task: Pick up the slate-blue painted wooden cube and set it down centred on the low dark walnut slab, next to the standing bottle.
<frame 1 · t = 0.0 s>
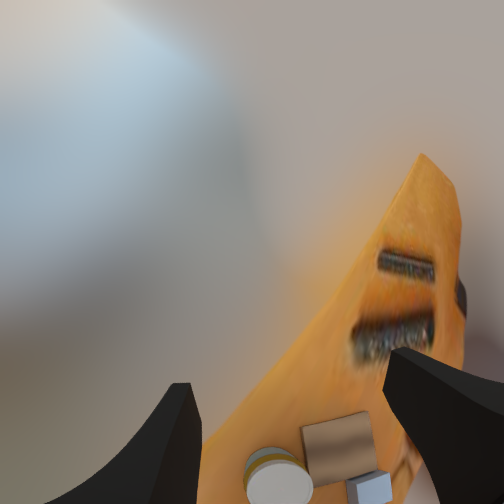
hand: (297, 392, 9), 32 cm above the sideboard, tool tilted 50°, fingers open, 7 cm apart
base slab: (337, 449, 31), on the sideboard
bottle: (270, 467, 30), on the sideboard
cube: (362, 487, 27), on the sideboard
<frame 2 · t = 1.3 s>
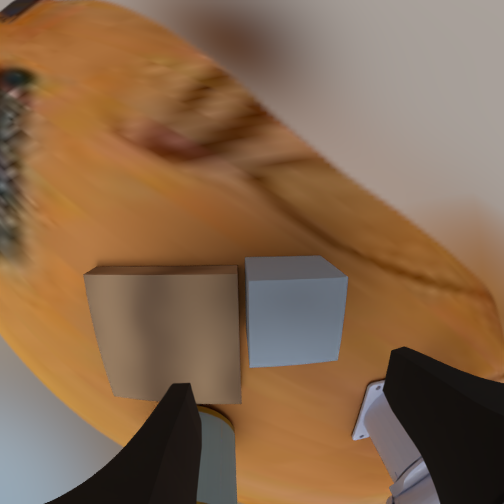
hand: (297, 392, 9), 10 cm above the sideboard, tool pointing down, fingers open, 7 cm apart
base slab: (169, 333, 19), on the sideboard
bottle: (195, 425, 21), on the sideboard
cube: (282, 292, 19), on the sideboard
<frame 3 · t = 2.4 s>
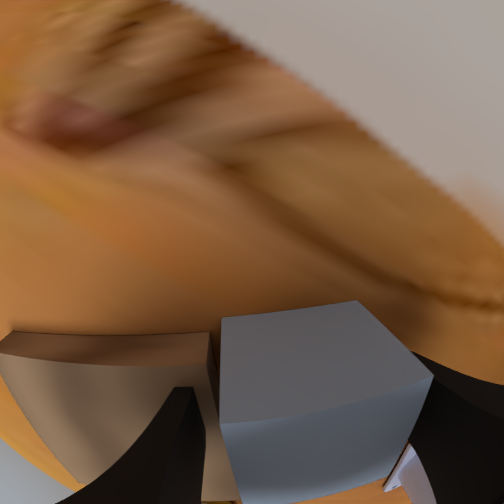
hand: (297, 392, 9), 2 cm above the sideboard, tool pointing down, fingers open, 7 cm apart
base slab: (125, 421, 10), on the sideboard
bottle: (188, 501, 13), on the sideboard
cube: (293, 364, 10), on the sideboard
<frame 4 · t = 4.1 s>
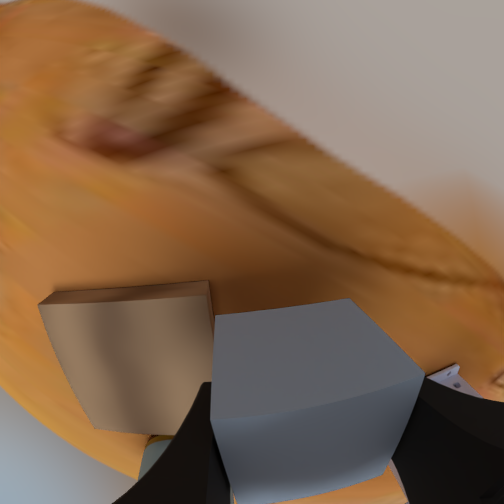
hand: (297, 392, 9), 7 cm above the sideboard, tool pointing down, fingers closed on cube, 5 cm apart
base slab: (141, 361, 15), on the sideboard
bottle: (187, 450, 18), on the sideboard
cube: (287, 362, 10), point 5 cm above the sideboard, touching gripper
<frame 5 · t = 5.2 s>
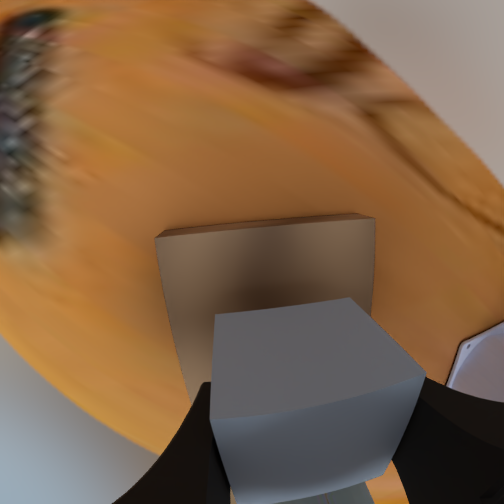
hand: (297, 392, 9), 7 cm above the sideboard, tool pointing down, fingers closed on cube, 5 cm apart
base slab: (270, 312, 15), on the sideboard
bottle: (286, 425, 18), on the sideboard
cube: (287, 362, 10), point 5 cm above the sideboard, touching gripper
when the fingers open (5 cm above the sideboard, at t = 6.4 s): cube drops 1 cm, resting on base slab.
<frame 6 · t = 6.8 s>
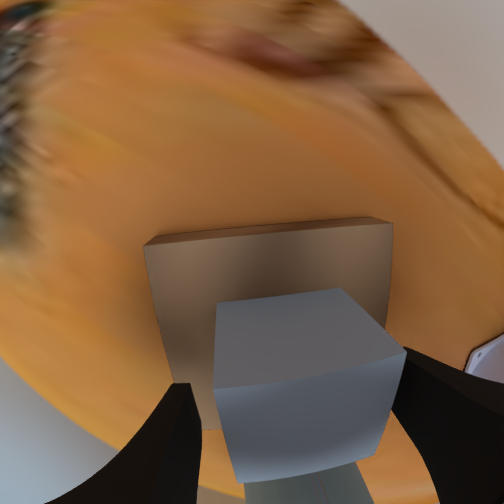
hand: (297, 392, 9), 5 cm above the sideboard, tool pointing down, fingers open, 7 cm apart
base slab: (275, 326, 13), on the sideboard
bottle: (290, 440, 16), on the sideboard
cube: (283, 348, 11), point 2 cm above the sideboard, touching base slab
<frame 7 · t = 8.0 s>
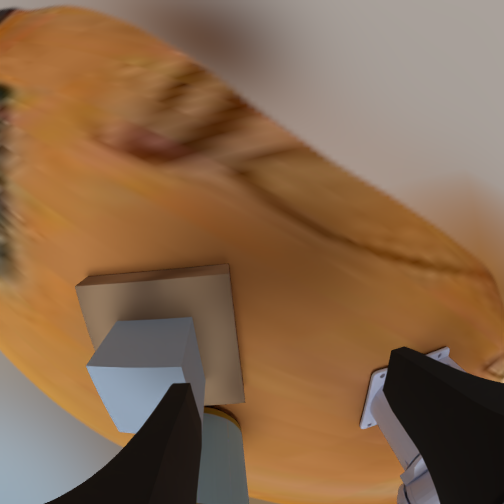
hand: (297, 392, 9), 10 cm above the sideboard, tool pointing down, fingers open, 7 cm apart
base slab: (166, 337, 18), on the sideboard
bottle: (202, 425, 21), on the sideboard
cube: (161, 353, 16), point 2 cm above the sideboard, touching base slab
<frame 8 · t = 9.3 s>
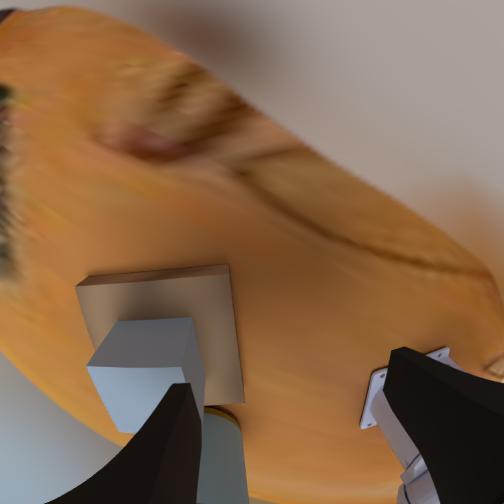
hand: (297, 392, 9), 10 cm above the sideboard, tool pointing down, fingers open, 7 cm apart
base slab: (166, 337, 18), on the sideboard
bottle: (202, 425, 21), on the sideboard
cube: (161, 353, 16), point 2 cm above the sideboard, touching base slab
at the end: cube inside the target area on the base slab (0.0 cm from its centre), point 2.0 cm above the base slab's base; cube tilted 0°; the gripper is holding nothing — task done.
